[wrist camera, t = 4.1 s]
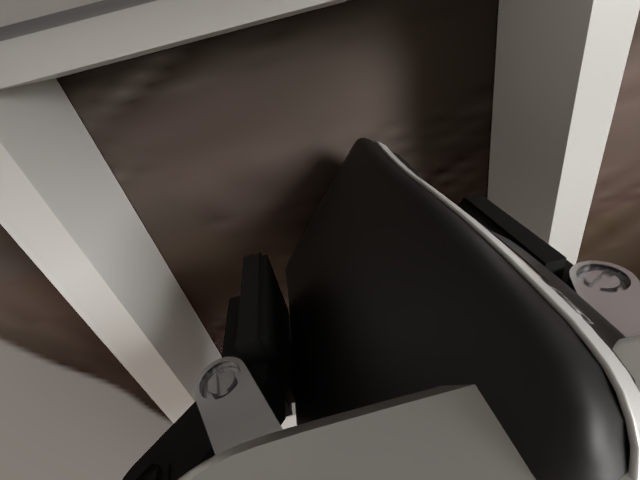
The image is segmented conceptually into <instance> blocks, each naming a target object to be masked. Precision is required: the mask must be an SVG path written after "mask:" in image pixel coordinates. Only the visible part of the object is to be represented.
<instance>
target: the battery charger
mask: <svg viewBox="0 0 640 480" xmlns="http://www.w3.org/2000/svg"><path fill="white" fill-rule="evenodd" d="M285 270H286V278H287V288H288V298H289V309H290V325H291V346H292V363H293V380H294V394H295V410H296V423H297V425H300V424H304V423H307V422H310V421H314V420H317V419H321V418H324V417H328V416H332V415H335V414H339V413H343V412H346V411H350V410H354V409H357V408H361V407H365V406H368V405H372V404H375V403H379V402H383V401H386V400H390V399H394V398H397V397H401V396H405V395H408V394H412V393H416V392H420V391H423V390H427V389H431V388H435V387H438V386H444V385H472V384H475V385H476V387H477V388H478V390H479V391H480V393H481V394H482V396H483V398H484V399H485V401H486V402H487V404H488V405H489V407H490V409H491V410H492V412H493V413H494V415H495V416H496V418H497V420H498V421H499V423H500V424H501V426H502V427H503V429H504V431H505V432H506V434H507V435H508V437H509V438H510V440H511V442H512V443H513V445H514V446H515V448H516V449H517V451H518V453H519V454H520V456H521V457H522V459H523V460H524V462H525V464H526V465H527V467H528V468H529V470H530V472H531V473H532V475H533V476H534V477H535V479H536V480H620V479H621V478H622V477H623V476H624V475H625V474H626V473H627V472H628V470H629V475H630V476H631V478H632V479H633V480H640V392H639V390H638V389H637V387H636V383H635V379H634V378H633V376H632V375H631V374H630V372H629V371H628V370H627V368H626V367H625V366H624V364H623V363H622V362H621V360H620V359H619V357H618V356H617V355H616V353H615V352H614V351H613V349H612V348H613V347H614V345H615V343H616V342H617V341H618V340H619V339H622V338H627V337H626V336H624V335H623V334H622V333H621V332H620V331H619V330H618V329H617V328H616V327H615V326H613V325H612V324H611V323H610V322H609V321H608V320H607V319H605V318H604V317H603V316H602V315H601V314H600V313H599V312H598V311H596V310H595V309H594V308H593V307H592V306H591V305H590V304H589V303H587V302H586V301H585V300H584V299H583V298H582V297H580V296H579V295H578V294H577V293H576V292H575V291H574V290H572V289H571V288H570V287H569V286H568V285H567V284H565V283H564V282H563V281H562V280H561V279H560V278H558V277H557V276H556V275H555V274H553V273H552V272H551V271H550V270H548V269H547V268H546V267H545V266H544V265H542V264H541V263H540V262H539V261H537V260H536V259H535V258H534V257H532V256H531V255H530V254H529V253H527V252H526V251H525V250H523V249H522V248H521V247H519V246H518V245H516V244H515V243H513V242H512V241H511V240H509V239H507V238H505V237H503V236H501V235H499V234H497V233H495V232H493V231H491V230H489V229H487V228H486V227H485V226H484V225H482V224H481V223H480V222H478V221H477V220H476V219H475V218H473V217H472V216H471V215H469V214H468V213H467V212H465V211H464V210H463V209H462V208H460V207H459V206H458V205H456V204H455V203H453V202H452V201H451V200H450V199H448V198H447V197H445V196H444V195H443V194H441V193H440V192H439V191H437V190H436V189H435V188H433V187H432V186H431V185H429V184H428V183H427V182H426V181H425V180H424V179H422V178H421V177H420V176H419V175H418V173H417V172H416V171H415V170H413V169H412V168H411V167H410V165H409V164H408V163H407V162H406V161H404V160H403V159H402V158H401V157H400V156H399V155H397V154H396V153H394V152H392V151H390V150H389V149H388V147H387V146H386V145H384V144H382V143H380V142H379V141H376V140H375V141H374V142H373V141H371V140H369V139H366V138H360V139H358V140H357V141H356V142H355V144H354V145H353V147H352V149H351V150H350V152H349V154H348V156H347V157H346V159H345V161H344V162H343V164H342V166H341V168H340V169H339V171H338V173H337V175H336V177H335V178H334V180H333V182H332V184H331V185H330V187H329V189H328V191H327V192H326V194H325V196H324V198H323V200H322V201H321V203H320V205H319V207H318V208H317V210H316V212H315V214H314V216H313V217H312V219H311V221H310V223H309V225H308V226H307V228H306V230H305V232H304V234H303V236H302V237H301V239H300V241H299V243H298V245H297V246H296V248H295V250H294V252H293V254H292V256H291V258H290V259H289V261H288V263H287V265H286V269H285Z"/></svg>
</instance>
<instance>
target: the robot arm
mask: <svg viewBox="0 0 640 480" xmlns="http://www.w3.org/2000/svg"><path fill="white" fill-rule="evenodd" d="M458 206H459V207H460V208H462V209H463V210H464V211H465V212H467V213H468V214H469V215H471V216H472V217H473V218H475V219H476V220H477V221H478V222H480V223H481V224H482V225H484V226H485V227H486V228H487V229H489V230H491V231H493V232H495V233H497V234H499V235H501V236H503V237H505V238H507V239H509V240H511V241H512V242H513V243H515V244H516V245H518V246H519V247H521V248H522V249H523V250H525V251H526V252H527V253H529V254H530V255H531V256H532V257H534V258H535V259H536V260H537V261H539V262H540V263H541V264H542V265H544V266H545V267H546V268H547V269H548V270H550V271H551V272H552V273H553V274H555V275H556V276H557V277H558V278H560V279H561V280H562V281H563V282H564V283H565V284H567V285H568V286H569V287H570V288H571V289H572V290H574V291H575V292H576V293H577V294H578V295H579V296H580V297H582V298H583V299H584V300H585V301H586V302H587V303H589V304H590V305H591V306H592V307H593V308H594V309H595V310H596V311H598V312H599V313H600V314H601V315H602V316H603V317H604V318H605V319H607V320H608V321H609V322H610V323H611V324H612V325H613V326H615V327H616V328H617V329H618V330H619V331H620V332H621V333H622V334H623V335H624V336H626V337H627V338H622V339H619V340H618V341H617V342H616V343H615V345H614V347H613V348H612V349H613V351H614V352H615V353H616V355H617V356H618V357H619V359H620V360H621V362H622V363H623V364H624V366H625V367H626V368H627V370H628V371H629V372H630V374H631V375H632V376H633V378H634V379H635V383H636V387H637V389H638V390H639V392H640V282H639V280H638V278H637V277H636V276H635V275H634V274H633V273H632V272H630V271H629V270H627V269H626V268H624V267H621V266H619V265H616V264H613V263H609V262H605V261H595V260H592V261H583V262H579V263H577V264H575V265H573V264H572V263H570V262H569V261H568V260H566V259H567V258H566V257H565V256H564V255H562V254H561V253H560V252H558V251H557V250H556V249H554V248H553V247H552V246H550V245H549V244H548V243H546V242H545V241H544V240H542V239H541V238H539V237H538V236H537V235H535V234H534V233H533V232H531V231H530V230H529V229H527V228H526V227H525V226H523V225H522V224H521V223H519V222H518V221H517V220H515V219H514V218H512V217H511V216H510V215H508V214H507V213H506V212H504V211H503V210H502V209H500V208H499V207H498V206H496V205H495V204H494V203H492V202H491V201H490V200H488V199H487V198H486V197H484V196H483V195H481V194H476V195H473V196H469V197H465V198H463V199H462V200H461V203H459V204H458ZM193 391H194V397H195V400H196V401H195V402H194V403H193V404H192V405H191V406H190V407H189V408H188V409H187V410H186V411H185V413H184V414H183V415H182V416H181V417H180V418H179V419H178V420H177V421H176V422H175V423H174V424H173V425H172V426H171V427H170V428H169V429H168V430H167V431H166V432H165V433H164V434H163V435H162V436H161V437H160V438H159V440H158V441H157V442H156V443H155V444H154V445H153V446H152V447H151V448H150V449H149V450H148V451H147V452H146V453H145V454H144V455H143V456H142V457H141V458H140V459H139V460H138V461H137V462H136V463H135V464H134V465H133V466H132V468H131V469H130V470H129V471H128V473H127V474H126V475H125V476H124V478H123V480H536V479H535V477H534V476H533V475H532V473H531V472H530V470H529V468H528V467H527V465H526V464H525V462H524V460H523V459H522V457H521V456H520V454H519V453H518V451H517V449H516V448H515V446H514V445H513V443H512V442H511V440H510V438H509V437H508V435H507V434H506V432H505V431H504V429H503V427H502V426H501V424H500V423H499V421H498V420H497V418H496V416H495V415H494V413H493V412H492V410H491V409H490V407H489V405H488V404H487V402H486V401H485V399H484V398H483V396H482V394H481V393H480V391H479V390H478V388H477V387H476V385H475V384H472V385H444V386H438V387H435V388H431V389H427V390H423V391H420V392H416V393H412V394H408V395H405V396H401V397H397V398H394V399H390V400H386V401H383V402H379V403H375V404H372V405H368V406H365V407H361V408H357V409H354V410H350V411H346V412H343V413H339V414H335V415H332V416H328V417H324V418H321V419H317V420H314V421H310V422H307V423H304V424H300V425H297V426H293V427H290V428H286V429H282V427H281V424H282V423H283V422H284V420H285V419H286V416H290V415H292V403H295V394H294V380H293V363H292V346H291V325H290V316H289V311H288V308H287V306H286V303H285V300H284V298H283V295H282V292H281V290H280V287H279V284H278V282H277V279H276V277H275V274H274V271H273V269H272V266H271V263H270V261H269V258H268V256H267V255H263V256H262V255H261V253H260V252H259V253H255V254H251V255H248V256H245V257H244V261H243V272H242V283H241V293H240V296H237V297H233V298H231V299H230V301H229V306H228V314H227V321H226V329H225V336H224V344H223V352H222V358H220V359H218V360H216V361H214V362H212V363H211V364H209V365H208V366H207V367H205V368H204V370H203V371H202V372H201V373H200V374H199V376H198V378H197V380H196V381H195V385H194V389H193ZM620 480H633V479H632V478H631V476H630V475H629V470H628V472H627V473H626V474H625V475H624V476H623V477H622V478H621V479H620Z"/></svg>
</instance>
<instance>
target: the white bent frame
mask: <svg viewBox="0 0 640 480" xmlns="http://www.w3.org/2000/svg"><path fill="white" fill-rule="evenodd" d="M346 1H350V0H0V224H1V225H2V226H3V227H4V229H5V230H6V231H7V232H8V233H9V234H10V235H11V237H12V238H13V239H14V240H15V241H16V242H17V244H18V245H19V246H20V247H21V248H22V249H23V250H24V252H25V253H26V254H27V255H28V256H29V257H30V259H31V260H32V261H33V262H34V263H35V264H36V265H37V267H38V268H39V269H40V270H41V271H42V272H43V274H44V275H45V276H46V277H47V278H48V279H49V280H50V282H51V283H52V284H53V285H54V286H55V287H56V289H57V290H58V291H59V292H60V293H61V294H62V295H63V297H64V298H65V299H66V300H67V301H68V302H69V304H70V305H71V306H72V307H73V308H74V309H75V310H76V312H77V313H78V314H79V315H80V316H81V317H82V319H83V320H84V321H85V322H86V323H87V324H88V325H89V327H90V328H91V329H92V330H93V331H94V332H95V334H96V335H97V336H98V337H99V338H100V339H101V340H102V342H103V343H104V344H105V345H106V346H107V347H108V349H109V350H110V351H111V352H112V353H113V354H114V355H115V357H116V358H117V359H118V360H119V361H120V362H121V364H122V365H123V366H124V367H125V368H126V369H127V370H128V372H129V373H130V374H131V375H132V376H133V377H134V379H135V380H136V381H137V382H138V383H139V384H140V385H141V387H142V388H143V389H144V390H145V391H146V392H147V394H148V395H149V396H150V397H151V398H152V399H153V400H154V402H155V403H156V404H157V405H158V406H159V407H160V409H161V410H162V411H163V412H164V413H165V414H166V415H167V417H168V418H169V419H170V420H171V421H172V422H173V424H174V423H175V422H176V421H177V420H178V419H179V418H180V417H181V416H182V415H183V414H184V413H185V411H186V410H187V409H188V408H189V407H190V406H191V405H192V404H193V403H194V402H195V401H196V400H195V397H194V391H193V389H194V385H195V381H196V380H197V378H198V376H199V374H200V373H201V372H202V371H203V370H204V368H205V367H207V366H208V365H209V364H211V363H212V362H214V361H216V360H218V359H220V358H222V356H221V354H220V353H219V351H218V349H217V348H216V346H215V344H214V343H213V341H212V339H211V338H210V336H209V334H208V333H207V331H206V329H205V328H204V326H203V324H202V323H201V321H200V319H199V318H198V316H197V314H196V313H195V311H194V309H193V307H192V306H191V304H190V302H189V301H188V299H187V297H186V296H185V294H184V292H183V291H182V289H181V287H180V286H179V284H178V282H177V281H176V279H175V277H174V276H173V274H172V272H171V271H170V269H169V267H168V265H167V264H166V262H165V260H164V259H163V257H162V255H161V254H160V252H159V250H158V249H157V247H156V245H155V244H154V242H153V240H152V239H151V237H150V235H149V234H148V232H147V230H146V229H145V227H144V225H143V223H142V222H141V220H140V218H139V217H138V215H137V213H136V212H135V210H134V208H133V207H132V205H131V203H130V202H129V200H128V198H127V197H126V195H125V193H124V192H123V190H122V188H121V187H120V185H119V183H118V182H117V180H116V178H115V176H114V175H113V173H112V171H111V170H110V168H109V166H108V165H107V163H106V161H105V160H104V158H103V156H102V155H101V153H100V151H99V150H98V148H97V146H96V145H95V143H94V141H93V140H92V138H91V136H90V134H89V133H88V131H87V129H86V128H85V126H84V124H83V123H82V121H81V119H80V118H79V116H78V114H77V113H76V111H75V109H74V108H73V106H72V104H71V103H70V101H69V99H68V98H67V96H66V94H65V92H64V91H63V89H62V87H61V86H60V84H59V82H58V81H57V79H56V78H59V77H63V76H67V75H71V74H74V73H78V72H82V71H86V70H89V69H93V68H97V67H101V66H104V65H108V64H112V63H116V62H120V61H123V60H127V59H131V58H135V57H138V56H142V55H146V54H150V53H154V52H157V51H161V50H165V49H169V48H172V47H176V46H180V45H184V44H188V43H191V42H195V41H199V40H203V39H206V38H210V37H214V36H218V35H221V34H225V33H229V32H233V31H237V30H240V29H244V28H248V27H252V26H255V25H259V24H263V23H267V22H271V21H274V20H278V19H282V18H286V17H289V16H293V15H297V14H301V13H305V12H308V11H312V10H316V9H320V8H323V7H327V6H331V5H335V4H338V3H342V2H346ZM639 9H640V0H499V8H498V26H497V43H496V60H495V77H494V94H493V111H492V128H491V145H490V162H489V179H488V196H487V199H488V200H490V201H491V202H492V203H494V204H495V205H496V206H498V207H499V208H500V209H502V210H503V211H504V212H506V213H507V214H508V215H510V216H511V217H512V218H514V219H515V220H517V221H518V222H519V223H521V224H522V225H523V226H525V227H526V228H527V229H529V230H530V231H531V232H533V233H534V234H535V235H537V236H538V237H539V238H541V239H542V240H544V241H545V242H546V243H548V244H549V245H550V246H552V247H553V248H554V249H556V250H557V251H558V252H560V253H561V254H562V255H564V256H565V257H566V258H567V259H566V260H568V261H569V262H570V263H572V264H573V265H575V264H576V261H577V257H578V253H579V249H580V245H581V241H582V237H583V233H584V229H585V225H586V221H587V217H588V213H589V209H590V205H591V201H592V197H593V193H594V189H595V185H596V181H597V177H598V173H599V169H600V165H601V161H602V157H603V153H604V149H605V145H606V141H607V137H608V133H609V129H610V125H611V121H612V117H613V113H614V109H615V105H616V101H617V97H618V93H619V89H620V85H621V81H622V77H623V73H624V69H625V65H626V61H627V57H628V53H629V49H630V45H631V41H632V37H633V33H634V29H635V25H636V21H637V17H638V13H639ZM293 426H297V423H296V410H295V403H292V415H290V416H286V419H285V420H284V422H283V423H282V424H281V427H282V429H286V428H290V427H293Z"/></svg>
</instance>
